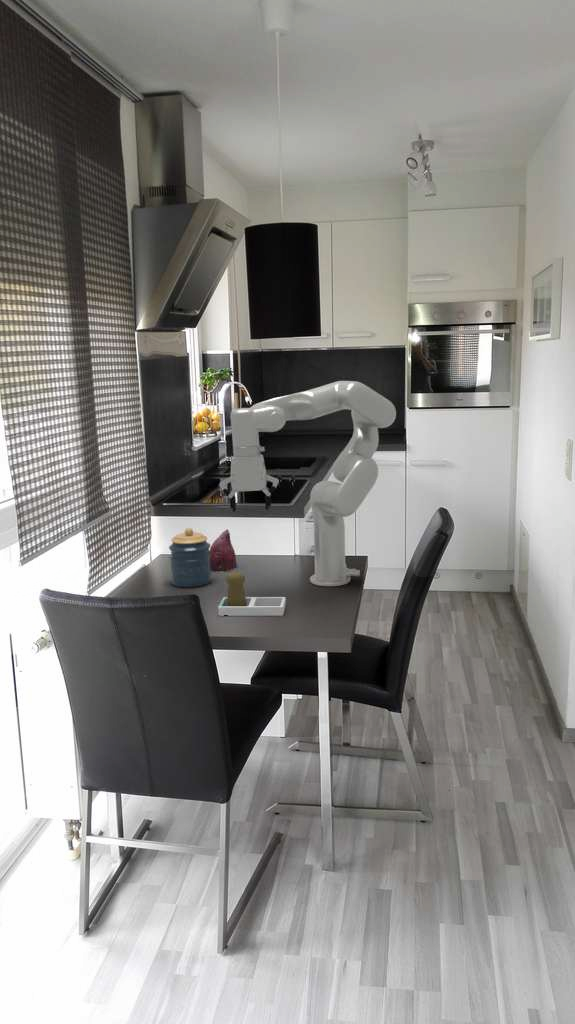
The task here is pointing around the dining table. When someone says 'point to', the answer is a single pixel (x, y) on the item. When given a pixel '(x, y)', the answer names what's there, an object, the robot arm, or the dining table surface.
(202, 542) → the canister
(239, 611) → the white divided tray
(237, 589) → the cork
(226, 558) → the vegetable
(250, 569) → the dining table surface
